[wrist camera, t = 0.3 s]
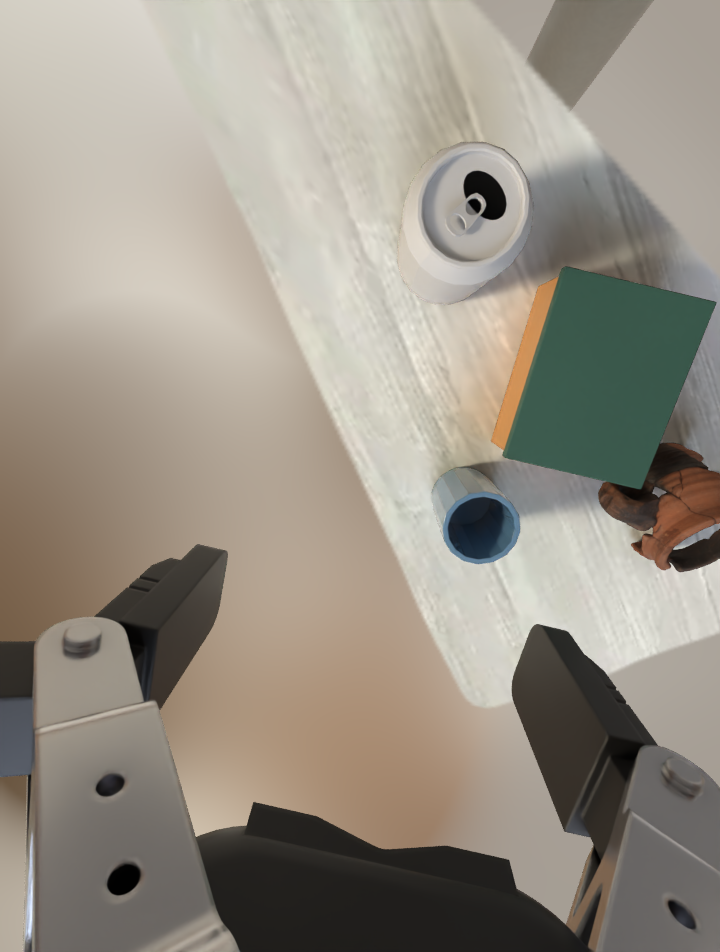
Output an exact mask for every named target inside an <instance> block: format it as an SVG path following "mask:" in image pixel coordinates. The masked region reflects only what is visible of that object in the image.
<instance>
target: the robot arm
mask: <svg viewBox="0 0 720 952" xmlns="http://www.w3.org/2000/svg"><path fill="white" fill-rule="evenodd" d="M227 558H228V553H227V551H225V550H221V549H217V548H212V547H208V546H204V545H200V544H197V545H196V546H195V547H194V548H193V549H192V550H191V551H190V552H189V553H188V554H187V555H186V556H185V557H184V558H183V559H182V560H177V559H173V558H170V559H167V560H165V561H162V562H159V563H157V564H155V565H152V566H151V567H150V568H149V569H147V570H146V571H145V572H144V573H143V574H142V575H141V576H140V578H139V579H138V578H137V579H136V580H135V581H134V582H133V583H132V584H131V585H130V586H129V588H126V589H125V590H124V591H123V592H121V593H120V594H119V595H118V596H117V597H116V598H115V599H113V600H112V601H111V602H110V603H109V604H108V605H107V606H106V607H105V608H103V609H102V610H101V611H100V612H99V613H98V614H96V615H95V616H94V617H80V618H74V619H70V620H66V621H63V622H60V623H57V624H55V625H53V626H51V627H50V628H48V629H47V630H45V631H44V632H43V633H42V634H40V636H39V637H38V638H37V640H36V641H29V642H0V777H8V776H18V775H19V776H20V775H27V810H26V811H27V812H26V863H25V865H26V866H25V900H24V928H23V930H24V931H23V952H720V787H719V786H718V785H717V784H716V783H715V782H714V781H713V779H712V778H711V777H710V776H709V775H707V774H706V773H705V772H704V771H703V770H702V769H701V768H699V767H698V766H697V765H695V764H694V763H693V762H691V761H690V760H688V759H686V758H685V757H683V756H681V755H679V754H678V753H676V752H674V751H671V750H669V749H667V748H664V747H660V746H658V745H657V744H656V742H655V741H654V739H653V738H652V736H651V735H650V734H649V732H648V731H647V730H646V728H645V727H644V725H643V724H642V723H641V721H640V720H639V719H638V717H637V716H636V714H635V713H634V712H633V710H632V709H631V707H630V706H629V705H627V704H626V701H625V699H624V698H623V696H622V695H621V694H620V692H619V691H617V690H616V687H615V685H614V684H613V683H612V681H611V680H610V679H609V677H608V676H607V674H606V673H605V672H604V671H603V670H602V669H601V668H600V667H599V666H598V665H596V664H595V663H594V662H593V661H592V660H591V659H590V658H588V657H587V656H586V655H584V653H583V652H582V651H581V649H580V648H579V646H578V645H577V643H576V642H575V641H574V639H573V638H572V636H571V635H570V634H569V632H567V631H565V630H561V629H556V628H552V627H548V626H543V625H539V624H536V625H534V626H533V627H532V629H531V630H530V633H529V635H528V638H527V641H526V643H525V646H524V649H523V651H522V654H521V657H520V659H519V662H518V665H517V667H516V670H515V673H514V676H513V680H512V697H513V701H514V704H515V707H516V709H517V712H518V714H519V717H520V719H521V722H522V724H523V727H524V730H525V732H526V735H527V737H528V740H529V742H530V745H531V747H532V750H533V752H534V755H535V758H536V760H537V763H538V765H539V768H540V770H541V773H542V775H543V778H544V781H545V783H546V786H547V788H548V791H549V793H550V796H551V798H552V801H553V804H554V806H555V809H556V811H557V814H558V816H559V819H560V821H561V824H562V826H563V829H564V831H565V832H569V833H573V834H578V835H582V836H586V837H591V839H592V842H593V844H594V845H593V848H592V849H591V852H590V853H589V855H588V858H587V860H586V863H585V866H584V869H583V872H582V876H581V879H580V882H579V885H578V888H577V891H576V894H575V898H574V901H573V904H572V907H571V910H570V913H569V916H568V920H567V923H566V925H565V924H564V923H563V922H562V921H561V920H560V919H559V918H558V917H557V916H556V915H554V914H553V913H552V912H551V911H549V910H548V909H547V908H545V907H544V906H543V905H542V904H540V903H539V902H537V901H536V900H534V899H533V898H531V897H530V896H528V895H527V894H525V893H523V892H521V891H520V890H518V889H516V885H515V881H514V877H513V873H512V869H511V866H510V862H509V860H507V859H503V858H499V857H494V856H490V855H485V854H481V853H477V852H472V851H467V850H463V849H459V848H454V847H450V846H435V847H419V848H404V849H390V850H389V849H381V848H378V847H375V846H373V845H371V844H369V843H367V842H365V841H363V840H362V839H360V838H357V837H356V836H354V835H352V834H350V833H348V832H346V831H344V830H342V829H340V828H338V827H336V826H334V825H333V824H330V823H329V822H327V821H324V820H323V819H321V818H319V817H317V816H313V815H309V814H304V813H300V812H296V811H291V810H287V809H282V808H277V807H273V806H269V805H265V804H260V803H256V802H253V806H252V809H251V813H250V816H249V820H248V823H247V826H238V827H230V828H224V829H219V830H215V831H212V832H209V833H206V834H203V835H200V836H198V837H196V836H195V833H194V829H193V826H192V822H191V819H190V815H189V812H188V808H187V805H186V801H185V798H184V795H183V791H182V787H181V784H180V780H179V777H178V774H177V770H176V767H175V763H174V760H173V756H172V753H171V749H170V746H169V742H168V739H167V735H166V732H165V728H164V725H163V721H162V718H161V714H160V709H161V708H162V706H163V704H164V703H165V701H166V700H167V698H168V697H169V695H170V693H171V692H172V690H173V688H174V687H175V686H176V684H177V682H178V681H179V679H180V678H181V676H182V675H183V673H184V672H185V670H186V668H187V667H188V665H189V664H190V662H191V660H192V659H193V657H194V656H195V654H196V652H197V651H198V650H199V648H200V646H201V645H202V643H203V642H204V640H205V639H206V637H207V635H208V634H209V632H210V630H211V629H212V627H213V625H214V622H215V619H216V617H217V614H218V610H219V606H220V600H221V594H222V589H223V583H224V577H225V571H226V565H227Z"/></svg>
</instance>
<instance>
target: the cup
mask: <svg viewBox="0 0 720 952" xmlns="http://www.w3.org/2000/svg"><path fill="white" fill-rule="evenodd" d="M431 500H432V506H433V510H434V513H435V516H436V519H437V522H438V525H439V527H440V530H441V533H442V536H443V539H444V541H445V543H446V545H447V546H448V548H449V550H450V551H451V552H452V553H453V554H454V555H456V556H457V557H458V558H460V559H461V560H463V561H466V562H470V563H475V564H483V563H490V562H494V561H496V560H498V559H500V558H501V557H503V556H505V555H507V553H508V552H509V551H510V550H511V549H512V548H513V547H514V545H515V544H516V542H517V539H518V536H519V533H520V520H519V515H518V513H517V511H516V510H515V508H514V506H513V505H512V503H511V502H510V501H509V500H508V499H507V498H506V497H505V496H504V495H503V494H502V492H501V491H500V490H499V489H498V488H497V487H496V486H495V485H494V484H493V483H492V482H491V481H490V479H489V478H488V477H486V476H485V475H484V474H483V473H481V472H480V471H478V470H476V469H472V468H468V467H461V468H455V469H452V470H450V471H448V472H446V473H445V474H443V475H442V476H441V477H440V478H439V479H438V480H437V482H436V483H435V485H434V487H433V490H432V496H431Z"/></svg>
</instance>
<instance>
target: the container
mask: <svg viewBox="0 0 720 952" xmlns="http://www.w3.org/2000/svg"><path fill="white" fill-rule="evenodd" d="M715 305H716V302H714V301H710V300H706V299H702V298H697V297H693V296H689V295H685V294H681V293H676V292H672V291H668V290H664V289H660V288H655V287H651V286H647V285H643V284H639V283H634V282H630V281H626V280H622V279H618V278H613V277H609V276H605V275H601V274H597V273H592V272H588V271H584V270H580V269H576V268H571V267H567V266H565V267H563V268H562V269H561V271H560V274H559V277H557V278H555V279H553V280H551V281H549V282H546V283H544V284H542V285H540V286H539V287H538V289H537V293H536V296H535V299H534V302H533V306H532V309H531V312H530V316H529V319H528V322H527V325H526V329H525V332H524V335H523V338H522V342H521V345H520V348H519V351H518V355H517V358H516V361H515V365H514V368H513V371H512V374H511V378H510V381H509V384H508V387H507V391H506V394H505V397H504V400H503V404H502V407H501V410H500V414H499V417H498V420H497V423H496V427H495V430H494V433H493V436H492V440H491V442H493V443H494V444H496V445H497V446H498V447H500V448H501V449H503V450H504V452H503V456H504V457H505V458H508V459H512V460H516V461H521V462H525V463H529V464H533V465H538V466H542V467H546V468H551V469H555V470H559V471H563V472H568V473H572V474H576V475H581V476H585V477H589V478H593V479H598V480H602V481H606V482H611V483H615V484H619V485H623V486H628V487H632V488H636V489H641V488H642V486H643V483H644V481H645V478H646V476H647V473H648V471H649V468H650V466H651V463H652V461H653V459H654V456H655V454H656V451H657V449H658V446H659V444H660V441H661V439H662V436H663V434H664V431H665V429H666V426H667V424H668V421H669V419H670V416H671V414H672V412H673V409H674V407H675V404H676V402H677V399H678V397H679V394H680V392H681V389H682V387H683V384H684V382H685V379H686V377H687V374H688V372H689V370H690V367H691V365H692V362H693V360H694V357H695V355H696V352H697V350H698V347H699V345H700V342H701V340H702V337H703V335H704V332H705V330H706V327H707V325H708V323H709V320H710V318H711V315H712V313H713V310H714V308H715Z"/></svg>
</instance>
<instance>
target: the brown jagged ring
mask: <svg viewBox="0 0 720 952" xmlns="http://www.w3.org/2000/svg"><path fill="white" fill-rule="evenodd" d="M702 460H703V457H702V456H701V455H700V454H698V453H697V452H695V451H692V450H690V449H687V448H685V447H684V446H682V445H680V444H676V443H661V444H659V446H658V449H657V451H656V454H655V456H654V459H653V461H652V463H651V466H650V468H649V471H648V473H647V476H646V478H645V481H644V483H643V486H642V488H641V489H636V488H632V487H628V486H623V485H619V484H615V483H611V482H604V483H603V484H602V486H601V488H600V490H599V492H598V496H599V502H600V504H601V506H602V508H603V509H604V510H605V511H606V512H607V513H608V514H609V515H611V516H612V517H613V518H615V519H617V520H620V521H622V522H625V523H627V524H628V525H629V526H632V527H633V528H636V529H637V530H640V531H646V530H648V529H650V528H651V527H652V528H653V535H650V534H644V535H643V536H642V541H640V542H635V543H632V544H631V546H632V547H633V548H634V550H635V551H637V552H638V553H639V554H640V555H642V556H644V557H646V558H647V559H650V560H654V561H655V563H656V565H657V567H659V568H660V569H661V570H666V569H669V568H671V565H670V563H672V565H673V566H674V567H675V569H676V570H677V571H678V572H684V571H690V570H694V569H698V568H700V567H703V566H706V565H708V564H711V563H713V562H715V561H716V560H718V559H720V529H719V530H718V531H716V532H715V533H714V534H713V535H712V536H711V537H710V538H709V539H702V540H700V541H698V542H696V543H694V544H692V545H690V546H688V547H685V548H683V549H677V550H673V548H674V547H675V546H676V545H678V544H679V543H681V542H682V541H683V540H685V539H686V538H688V537H690V536H691V535H693V534H695V533H697V532H698V531H701V530H703V529H705V528H707V527H710V526H712V525H714V524H719V523H720V473H718V472H714V471H709V470H708V467H707V466H705V465H704V464H703V463H702V462H701V461H702ZM654 487H658V488H660V489H662V490H664V491H666V492H667V493H666V494H663V495H661V496H660V497H659V498H658V497H657V496H656V495H655V494H652V492H653V489H654ZM669 562H670V563H669Z"/></svg>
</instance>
